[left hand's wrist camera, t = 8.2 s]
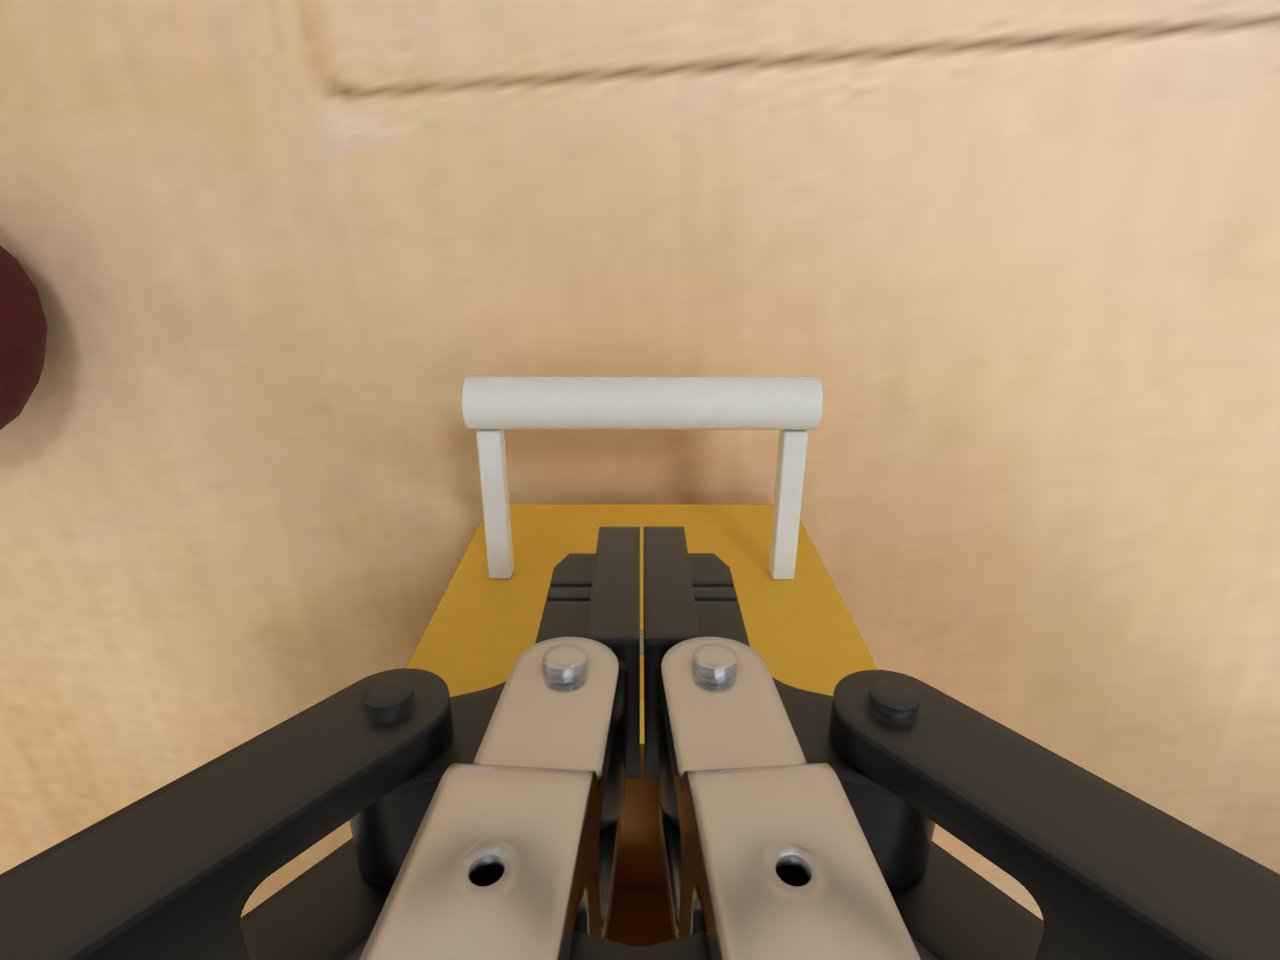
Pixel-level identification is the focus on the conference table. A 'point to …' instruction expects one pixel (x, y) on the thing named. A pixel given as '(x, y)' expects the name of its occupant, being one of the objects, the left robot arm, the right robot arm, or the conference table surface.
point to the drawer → (641, 564)
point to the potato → (18, 338)
